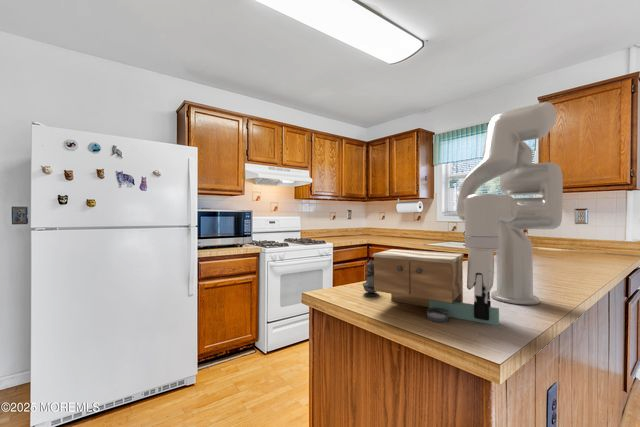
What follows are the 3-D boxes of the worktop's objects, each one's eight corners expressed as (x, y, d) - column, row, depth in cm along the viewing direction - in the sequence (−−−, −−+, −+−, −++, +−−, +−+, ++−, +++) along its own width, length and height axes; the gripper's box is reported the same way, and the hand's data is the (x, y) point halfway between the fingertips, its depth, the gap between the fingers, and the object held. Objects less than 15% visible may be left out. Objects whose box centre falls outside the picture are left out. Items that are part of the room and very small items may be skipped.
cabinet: (393, 298, 93) (392, 249, 93) (464, 310, 81) (463, 253, 81) (371, 311, 81) (371, 254, 81) (452, 327, 69) (451, 260, 69)
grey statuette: (362, 297, 95) (362, 260, 95) (362, 292, 101) (362, 257, 101) (380, 297, 94) (380, 260, 94) (380, 293, 100) (379, 258, 100)
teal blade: (431, 310, 81) (431, 297, 81) (499, 322, 72) (499, 308, 72) (429, 313, 79) (429, 300, 79) (498, 325, 70) (498, 310, 70)
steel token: (430, 315, 78) (430, 306, 78) (450, 319, 75) (450, 309, 75) (424, 320, 74) (424, 311, 74) (445, 325, 71) (445, 315, 71)
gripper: (470, 240, 82) (471, 306, 82) (458, 245, 69) (459, 323, 69) (502, 241, 77) (502, 311, 77) (495, 246, 64) (496, 330, 64)
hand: (482, 316), depth 73 cm, fingers closed on teal blade, 2 cm apart
